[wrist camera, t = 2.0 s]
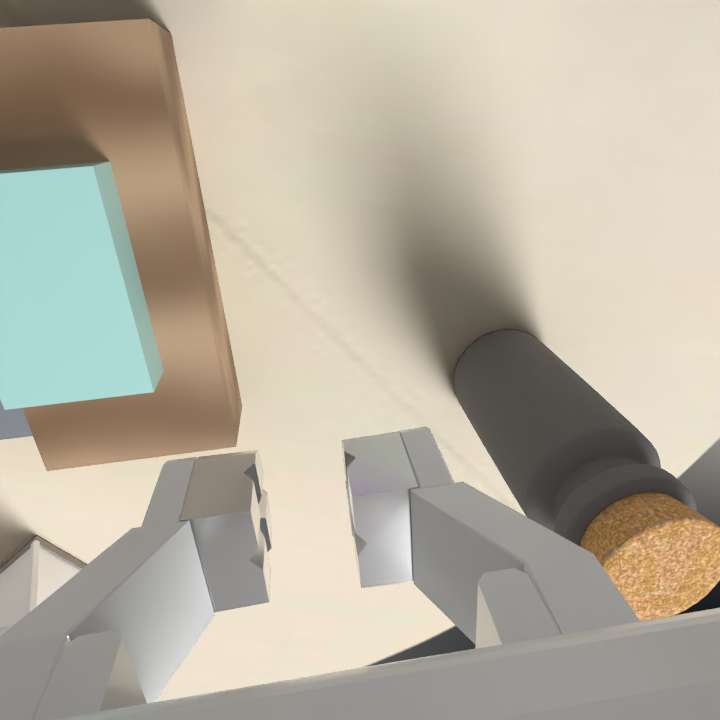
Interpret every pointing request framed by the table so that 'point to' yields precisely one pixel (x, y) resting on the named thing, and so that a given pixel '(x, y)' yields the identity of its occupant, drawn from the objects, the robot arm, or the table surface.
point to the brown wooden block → (128, 228)
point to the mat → (13, 423)
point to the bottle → (587, 473)
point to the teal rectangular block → (70, 290)
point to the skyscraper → (32, 579)
